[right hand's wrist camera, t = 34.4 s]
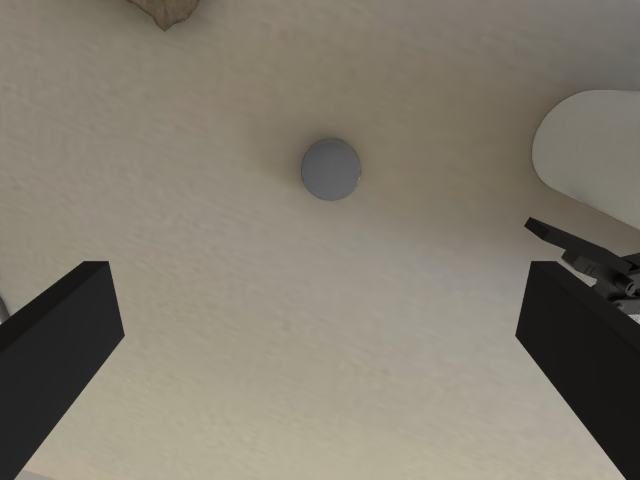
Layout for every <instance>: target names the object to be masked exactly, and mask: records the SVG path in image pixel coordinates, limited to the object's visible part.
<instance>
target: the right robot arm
mask: <svg viewBox="0 0 640 480" xmlns="http://www.w3.org/2000/svg"><path fill="white" fill-rule="evenodd" d="M124 336H125V335H124V330H123V326H122V321H121V316H120V312H119V307H118V302H117V298H116V293H115V289H114V284H113V279H112V275H111V270H110V265H109V261H84V262H82V263H81V264H80V265H78V266H77V267H76V268H74V269H73V270H72V271H70V272H69V273H68V274H66V275H65V276H64V277H62V278H61V279H60V280H58V281H57V282H56V283H54V284H53V285H52V286H51V287H49V288H48V289H47V290H45V291H44V292H43V293H41V294H40V295H39V296H37V297H36V298H35V299H33V300H32V301H31V302H29V303H28V304H27V305H25V306H24V307H23V308H21V309H20V310H19V311H18V312H16V313H15V314H14V315H12V316H11V317H9V314H8V311H7V309H6V307H5V305H4V303H3V301H2V299H1V298H0V480H14V479H15V478H16V476H17V475H18V474H19V472H20V471H21V470H22V468H23V467H24V466H25V465H26V463H27V462H28V461H29V459H30V458H31V457H32V455H33V454H34V453H35V452H36V450H37V449H38V448H39V446H40V445H41V444H42V443H43V441H44V440H45V439H46V437H47V436H48V435H49V433H50V432H51V431H52V430H53V428H54V427H55V426H56V424H57V423H58V422H59V420H60V419H61V418H62V417H63V415H64V414H65V413H66V411H67V410H68V409H69V407H70V406H71V405H72V404H73V402H74V401H75V400H76V398H77V397H78V396H79V395H80V393H81V392H82V391H83V389H84V388H85V387H86V385H87V384H88V383H89V382H90V380H91V379H92V378H93V376H94V375H95V374H96V372H97V371H98V370H99V369H100V367H101V366H102V365H103V363H104V362H105V361H106V359H107V358H108V357H109V356H110V354H111V353H112V352H113V350H114V349H115V348H116V347H117V345H118V344H119V343H120V341H121V340H122V339H123V337H124ZM515 336H516V337H517V339H518V340H519V341H520V343H521V344H522V345H523V347H524V348H525V349H526V350H527V352H528V353H529V354H530V356H531V357H532V358H533V359H534V361H535V362H536V363H537V365H538V366H539V367H540V369H541V370H542V371H543V372H544V374H545V375H546V376H547V378H548V379H549V380H550V382H551V383H552V384H553V385H554V387H555V388H556V389H557V391H558V392H559V393H560V395H561V396H562V397H563V398H564V400H565V401H566V402H567V404H568V405H569V406H570V407H571V409H572V410H573V411H574V413H575V414H576V415H577V417H578V418H579V419H580V420H581V422H582V423H583V424H584V426H585V427H586V428H587V430H588V431H589V432H590V433H591V435H592V436H593V437H594V439H595V440H596V441H597V443H598V444H599V445H600V446H601V448H602V449H603V450H604V452H605V453H606V454H607V455H608V457H609V458H610V459H611V461H612V462H613V463H614V465H615V466H616V467H617V468H618V470H619V471H620V472H621V474H622V475H623V476H624V478H625V479H626V480H640V324H638V323H637V322H636V321H634V320H633V319H632V318H630V317H629V316H628V315H626V314H625V313H624V312H622V311H621V310H620V309H619V308H617V307H616V306H615V305H613V304H612V303H611V302H609V301H608V300H607V299H605V298H604V297H603V296H601V295H600V294H599V293H597V292H596V291H595V290H593V289H592V288H591V287H589V286H588V285H587V284H586V283H584V282H583V281H582V280H580V279H579V278H578V277H576V276H575V275H574V274H572V273H571V272H570V271H568V270H567V269H566V268H564V267H563V266H562V265H560V264H559V263H558V262H556V261H531V265H530V270H529V275H528V279H527V284H526V289H525V293H524V298H523V302H522V307H521V312H520V316H519V321H518V326H517V330H516V335H515Z"/></svg>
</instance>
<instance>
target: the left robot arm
mask: <svg viewBox="0 0 640 480" xmlns="http://www.w3.org/2000/svg"><path fill="white" fill-rule="evenodd" d="M524 226H525V227H526V228H527V229H529V230H530V231H531V232H533V233H534V234H535V235H537V236H538V237H539V238H541V239H542V240H544V241H546V242H549V243H551V244H554V245H556V246H558V247H561V248H563V249H566V251H565V252H564V254H563V255H562V257H561V258H562V259H563V260H564V261H565V262H566V263H567V264H568V265H570V266H571V267H572V268H573V269H575V270H576V271H578V272H581V273H583V274H586V275H588V276H590V277H593V278H595V279H597V283H596V284H595V285H593V286H592V287H591V288H592V289H593V290H595V291H596V292H597V293H599V294H600V295H601V296H603V297H604V298H605V299H607V300H608V301H609V302H611V303H612V304H613V305H615V306H616V307H617V308H619V309H620V310H621V311H622V312H624V313H625V314H626V315H628V314H640V253H637V254H632V255H628V256H624V257H619V256H617V255H615V254H614V253H612V252H610V251H609V250H607V249H605V248H602V247H600V246H598V245H595V244H593V243H590V242H588V241H586V240H583V239H581V238H579V237H576V236H574V235H572V234H569V233H567V232H564V231H562V230H560V229H557V228H555V227H553V226H550V225H548V224H545V223H543V222H541V221H538V220H536V219H534V218H531V217H529V219H528V221H527V222H526V224H525V225H524Z"/></svg>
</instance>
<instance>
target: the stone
mask: <svg viewBox="0 0 640 480" xmlns="http://www.w3.org/2000/svg"><path fill="white" fill-rule="evenodd" d="M128 1H129V2H130V3H133V4H135V5H136V6H138V7H139V8H140V9H142V10H143V11H145V12H146V13H148V14H149V15H151V16H152V17H153V18H154V20H155V22H156V24H157V25H158V26H159V27H160V28H161V29H162V30H163V31H166V30H167V29H169V28H170V27H171V26H172V25H173V24H176V23H179V22H181V21H183V20H186V19H187V18H189V16H190V14H191V13H192V12H193V11H195V9H196V7H197V5H198V1H199V0H128Z"/></svg>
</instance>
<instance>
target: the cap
mask: <svg viewBox="0 0 640 480" xmlns="http://www.w3.org/2000/svg"><path fill="white" fill-rule="evenodd" d="M301 174H302V179H303V182H304V185H305V186H306V188H307V189H308V190H309V191H310V192H311V193H312V194H313V195H314V196H316V197H318V198H320V199H323V200H331V201H332V200H338V199H342V198H344V197H346V196H347V195H349V194H350V193H351V192H352V191H353V190H354V189H355V187H356V186H357V184H358V182H359V179H360V174H361V168H360V163H359V160H358V157H357V155H356V153H355V151H354V150H353V148H352V147H351V146H350V145H348V144H347V143H345V142H344V141H341V140H338V139H324V140H321V141H318V142H317V143H315V144H314V145H312V146H311V147H310V148H309V150H308V151H307V153H306V155H305V157H304V160H303V163H302V168H301Z"/></svg>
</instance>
